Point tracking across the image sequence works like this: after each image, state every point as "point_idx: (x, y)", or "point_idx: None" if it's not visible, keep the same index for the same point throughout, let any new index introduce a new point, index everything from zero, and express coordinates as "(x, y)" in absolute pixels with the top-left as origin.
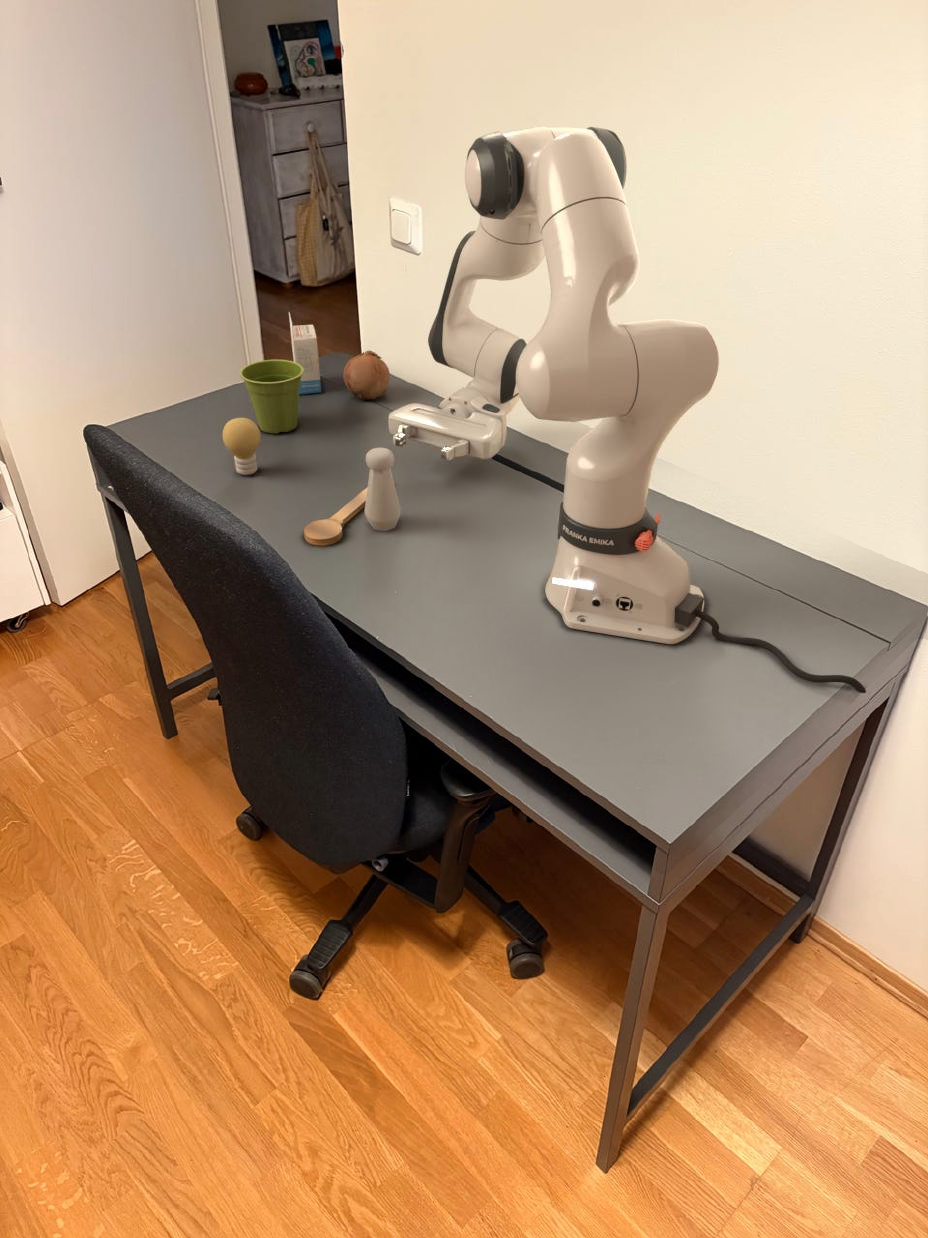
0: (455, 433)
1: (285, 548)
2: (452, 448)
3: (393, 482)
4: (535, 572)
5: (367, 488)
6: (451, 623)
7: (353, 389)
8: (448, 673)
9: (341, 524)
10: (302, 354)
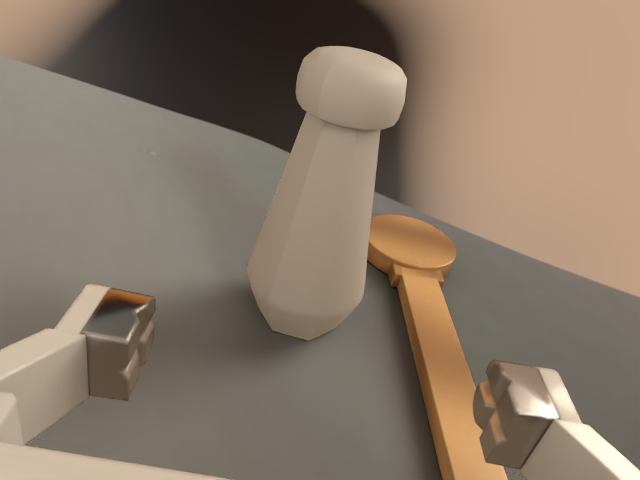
0: (60, 457)
1: (434, 218)
2: (68, 309)
3: (290, 179)
4: None
5: None
6: (21, 111)
7: None
8: (18, 67)
9: (392, 268)
10: None
